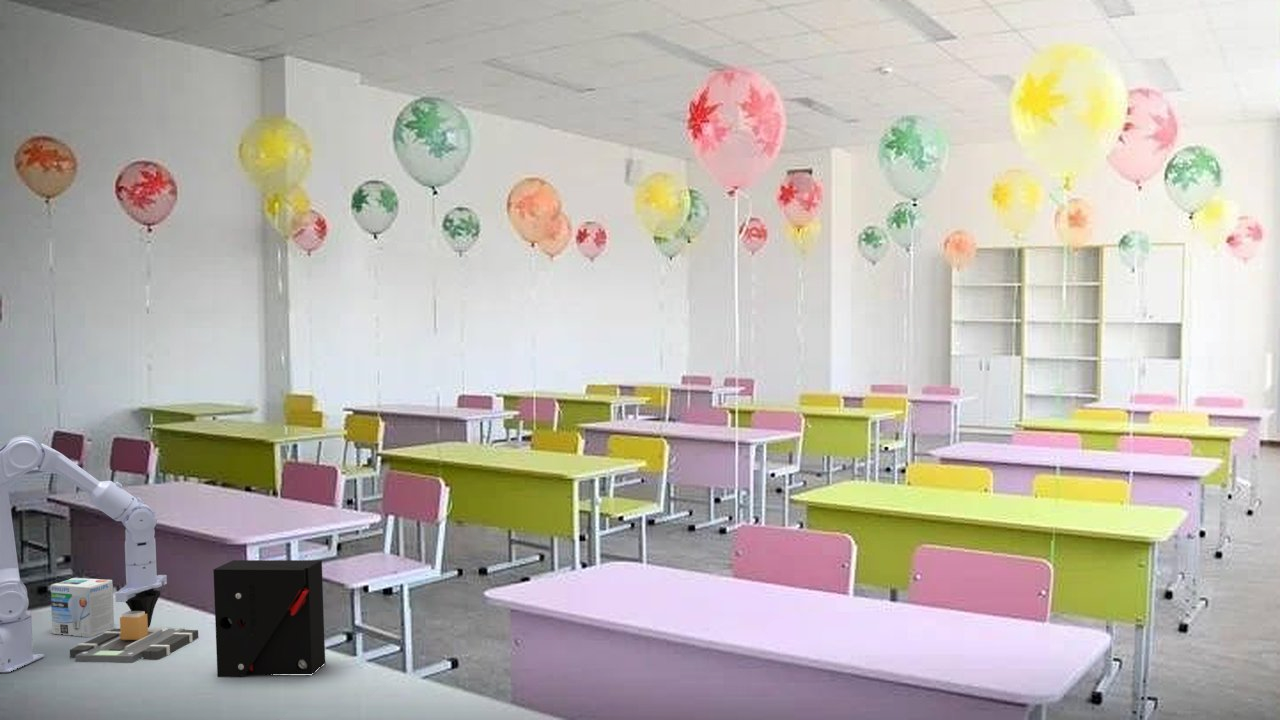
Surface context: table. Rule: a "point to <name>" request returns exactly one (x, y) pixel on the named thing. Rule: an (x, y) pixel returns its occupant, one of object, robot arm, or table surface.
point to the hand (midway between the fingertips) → (143, 627)
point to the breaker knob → (133, 625)
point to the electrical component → (269, 617)
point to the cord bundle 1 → (94, 642)
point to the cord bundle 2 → (170, 644)
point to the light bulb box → (82, 607)
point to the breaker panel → (125, 647)
